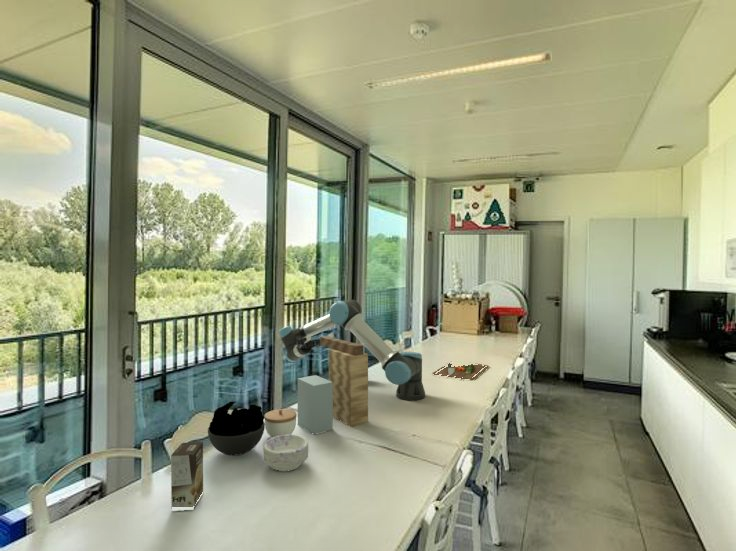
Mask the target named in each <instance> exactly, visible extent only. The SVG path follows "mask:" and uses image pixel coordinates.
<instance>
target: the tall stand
mask: <svg viewBox="0 0 736 551" xmlns="http://www.w3.org/2000/svg"><path fill="white" fill-rule="evenodd" d="M328 380H329V381H331V382H333V419H336V420H338V421H340V420H341V421H342V423H343V422H344V424H345V423H346V425H347V424H348V425H347V426H349V425H350V426H349V427H351V426H352V427H355V426H358V425H362V423H363V424H366V423H369V353H366V352H363V355H358V356H355V355H351V354H348V353H345V352H341V351H338V350H335V349H331V348H330V349H328ZM341 421H340V422H341Z"/></svg>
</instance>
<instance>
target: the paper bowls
mask: <svg viewBox="0 0 736 551" xmlns="http://www.w3.org/2000/svg"><path fill="white" fill-rule="evenodd" d="M262 447H263V454H262V455H263V458H262V459H263V462H264V463H266V465H268V466H270V467H271V469H273V470H274V469H275V470H274V471H277V470H279V471H278V472H289V471H288V470H291V471H293V469H294V470H296V469H297V468H299V467H300V466H301V465H302V463H303V462H305V461H307V459H308V458H309V441H308V439H307V438H306V437H304V436H303V435H298V434H288V435H280V436H276V437H273V438H272V437H270V438H269V439H267V440H266V441H265V442H264V443H263V446H262Z"/></svg>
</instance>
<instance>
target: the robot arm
mask: <svg viewBox="0 0 736 551" xmlns="http://www.w3.org/2000/svg"><path fill="white" fill-rule="evenodd" d="M362 312H363V308H362V306H361V303H360V302H358V301H357V300H355V299H345V300H338V301H337V302H334V303H333V304H332V305H331V306H330V308H329V313H328V314H326V315H324V316H321V317H320V318H317V319H314V320H313V321H310V322H309V323H306V324H304V325H302V326H300V327H297V328H292V326H291V325H287V326H284V327H282V328H280V329H279V331H278V334H279V336H280V339H281V342H282V343H283V346H284V348H285V351H286V352H285V356H284V357H285V359H286V360H287V361H288V362H290V363H295V362H297V361H299V360H300V359H301V358H304V356H306V355H308V354H309V353H311V352H312V350H313V348H315V347H317V348H319V347H322V346H321V345H320V338H319V339H312V337H313V336H315V335H317V334H320V333H322V332H324V331H327V330H329V329H332V328H333V327H336V326H341V327H342V328H343V329H344V330H345V331H349V332H351V333H352V334H353V336H355V337H356V339H357V340H358V341H359V342H360V343H361V345H363V347H365V348H366V349H367V350H368V351H369V352H370V354H372V356H374V357H375V359H377V360H378V361H379V363H381V369H382V370H383V371H384V374H385V378H386V380H388V382H390V384H393V385H396V386H397V388H396V391H395V392H396V393H395V396H396V397H397V399H400V400H405V401H420V400H423V399H425V397H426V390H425V387H424V384H423V373H422V372H423V355H422V354H421V353H420V352H415V351H398V350H396V351H394V350H393V349H392V348H391V347H390V346H389V344H387V343H386V342H385V341H384V340H383V339H382V338H381V337H380V336H379V335H378V333H376V332H375V331H374V330H373V329H372V327H370V326H369V324H367V322H366V321H364V320H363V318H362ZM326 336H329V337H333V338H335V334H334V331H333V332H330V333H329V334H326Z"/></svg>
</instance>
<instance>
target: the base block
mask: <svg viewBox="0 0 736 551" xmlns="http://www.w3.org/2000/svg"><path fill="white" fill-rule="evenodd" d="M296 380H297V425H298V426H299V425H300V426H299V427H301V426H302V427H301V428H303V429H304V428H305V429H304V430H306V431H307V430H308V431H307V432H309V431H310V432H309V433H310V434H312V433H313V434H312V435H314V434H315V435H317V433H318V434H322V433H325V432H324V431H326V432H328V430H329V431H332V429H333V430H334V428H333V426H334V425H333V424H334V423H333V422H334V417H333V382H331V381H329V379H326V378H325V377H324V378H323V377H321V376H318V375H316V374H314V375H309V376H304V377H299V378H297V379H296ZM321 432H322V433H321Z"/></svg>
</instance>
